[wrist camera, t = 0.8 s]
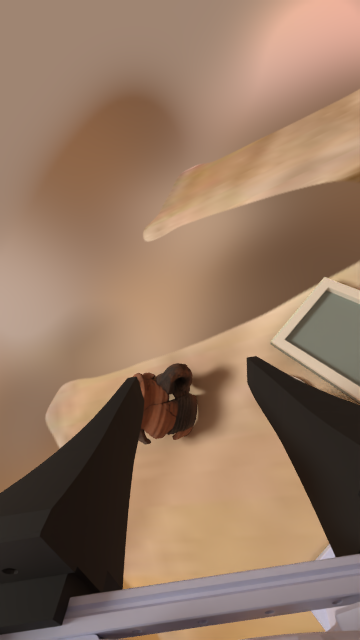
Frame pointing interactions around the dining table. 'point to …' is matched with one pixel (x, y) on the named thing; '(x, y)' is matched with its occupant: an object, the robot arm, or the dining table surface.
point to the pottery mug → (167, 403)
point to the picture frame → (327, 336)
